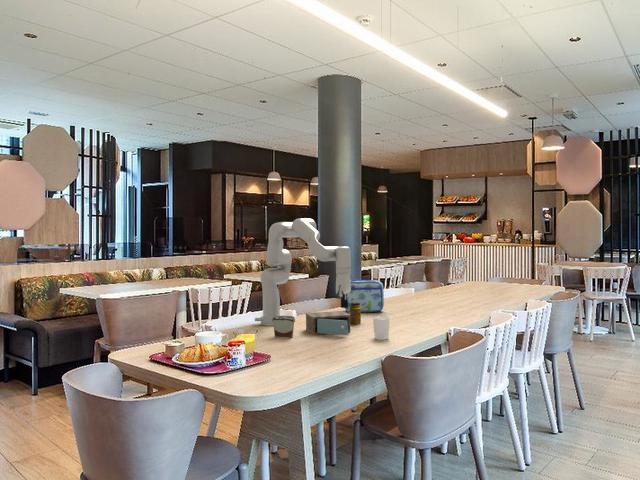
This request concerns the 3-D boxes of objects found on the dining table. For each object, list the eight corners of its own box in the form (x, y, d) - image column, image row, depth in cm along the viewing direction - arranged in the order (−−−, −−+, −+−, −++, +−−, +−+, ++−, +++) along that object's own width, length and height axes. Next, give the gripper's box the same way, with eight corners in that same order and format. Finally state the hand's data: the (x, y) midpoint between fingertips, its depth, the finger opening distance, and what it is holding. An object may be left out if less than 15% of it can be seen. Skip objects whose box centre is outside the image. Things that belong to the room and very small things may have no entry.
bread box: (313, 334, 264) (313, 317, 264) (306, 329, 278) (305, 313, 278) (350, 332, 270) (350, 314, 270) (341, 327, 284) (341, 310, 283)
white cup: (379, 340, 249) (379, 319, 248) (370, 337, 256) (370, 317, 256) (392, 339, 252) (392, 318, 252) (383, 336, 259) (383, 316, 259)
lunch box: (342, 312, 335) (341, 279, 334) (345, 309, 345) (344, 278, 345) (382, 313, 329) (382, 280, 328) (384, 310, 339) (384, 278, 339)
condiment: (363, 324, 293) (363, 302, 293) (351, 325, 288) (351, 304, 288) (356, 322, 299) (355, 301, 299) (344, 324, 294) (343, 302, 294)
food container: (299, 335, 263) (299, 316, 262) (294, 338, 257) (294, 318, 257) (276, 334, 267) (276, 314, 267) (271, 336, 261) (271, 316, 261)
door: (316, 333, 263) (316, 319, 263) (318, 332, 265) (317, 318, 265) (346, 335, 257) (346, 321, 257) (347, 334, 259) (347, 320, 259)
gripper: (341, 270, 270) (342, 305, 270) (331, 272, 256) (331, 309, 257) (355, 270, 267) (356, 305, 267) (345, 272, 253) (346, 310, 254)
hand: (344, 307), depth 262 cm, fingers closed
